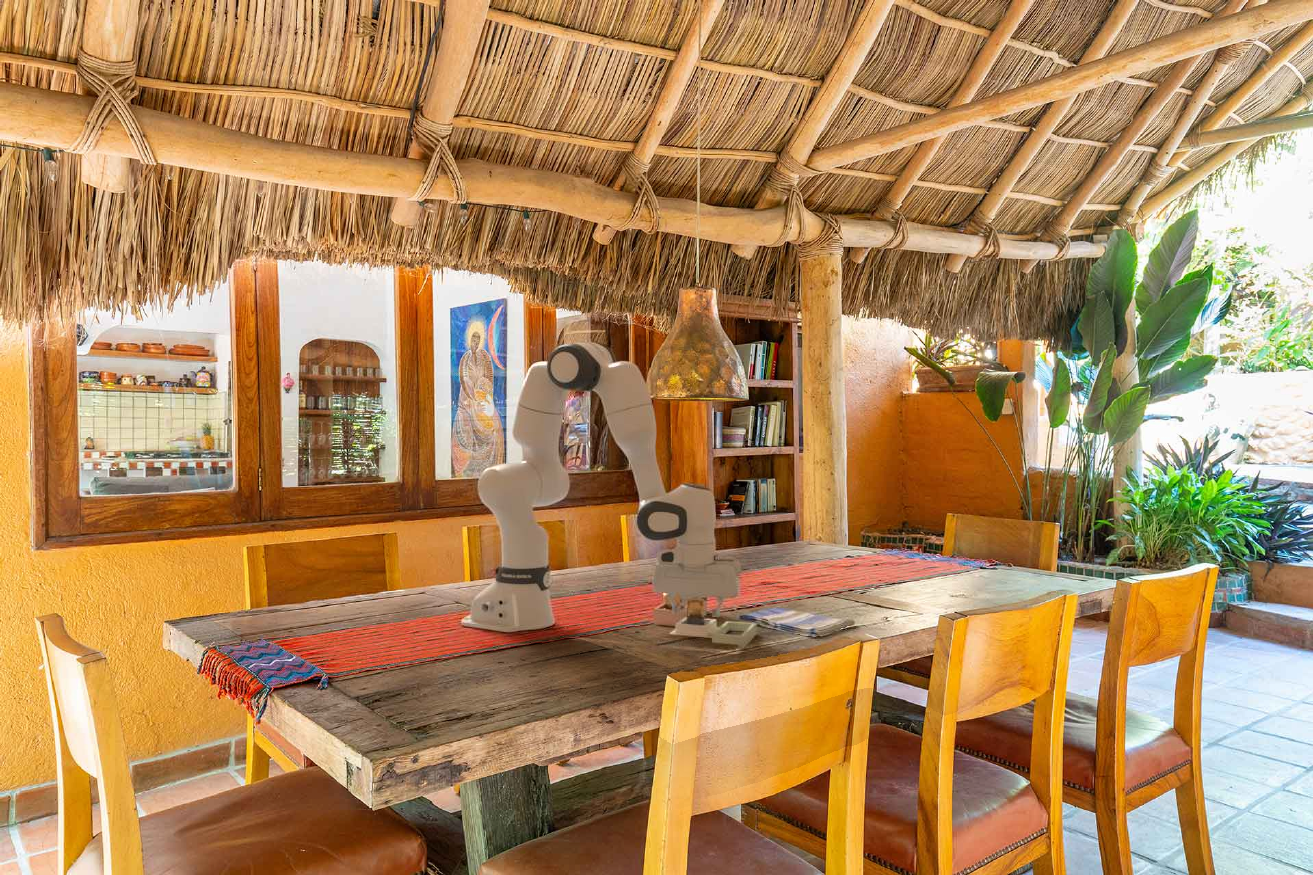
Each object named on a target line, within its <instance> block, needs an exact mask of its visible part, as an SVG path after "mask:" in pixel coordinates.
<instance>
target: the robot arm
mask: <svg viewBox="0 0 1313 875" xmlns="http://www.w3.org/2000/svg"><path fill="white" fill-rule="evenodd" d="M591 391H593V392H595V394H596V393H597V395H598V397H599V398H600V400H601V403H602V407H603V411H604V415H605V419H606V422H607V425H608V428H609V431H610V432H611V435H612V437H613V439H614V442H615V444H616V445H617V446H618V447H619V448H620V450H621V451H622V452H623V453H624V455H625V457H627V460H628V462H629V464H630V467H631V469H632V470H631V471H632V474H633V477H634V482H635V484H636V488H637V493H638V500H639V502H638V506H637V514H636V525H637V526H636V527H637V528H638V529H637V530H638V531H639V532H640V534H641V535H642V536H643V537H645V538H646V539H648V540H650V541H654V542H661V541H666V540H672V539H675V538H676V546H673V547H670V548H668V549H664V550H662V551H660V552H658V553H657V555H656V561H657V562H658V563H657V564H655V566H654V569H653V574H652V590H653V591H654V593H655V594H662V595H663V594H668V600H669V602H670V604H671V606H672V613H673V614H679V613H680V611H681V610H680V608H681V605H677V603H676V601H675V599H674V598H675V597H676V595H691V596H706V597H707V598H709V597H710V598H716V602H717V603H718V604H717V606H716V607H712V609H711V613H712V614H711V616H712V618H713V617H715V618H719V617H720V616H721V608H722V606H723V605H724V603H725V601H726V599H735V598H737V597H738V596H740V594H741V580H740V575H741V573H742V572H741V570H742V568H741V567H742V566H741V565H742V564H741V561H740V560H738V558H737V559H736V558H735V557H734V556H730V555H729V556H724V555H716V550H717V548H716V547H717V546H716V537H715V526H716V523H717V522H716V518H717V516H716V515H717V514H716V501H715V495H714V493H713V491H711V489H710V488H709V487H707V486H704V485H701V484H695V483H681V484H680V485H679V486H677V487H676V488H674V490H673V489H672V490H671V491H669V492H667V491H666V489H665V485H664V482H663V479H662V474H661V472H660V467H659V464H658V461H657V460H658V458H657V455H656V454H657V453H656V452H657V451H656V441H657V422H656V414H655V409H654V406H653V402H652V399H651V394H650V392H649V389H648V386H647V383H646V381H645V379H644V377H643V375H642V372H641V370H640V369H639V367H638V366H637V364H635V363H633V362H631V361H627V360H620V361H617V358H616V355H615V353H614V352H613V351H612V350H611V349H610V348H609V347H608V346H606V345H604V344H602V343H600V342H593V341H578V342H574V343H573V342H569V343H568V342H567V343H564V344H562V345H559V346H558V347H556V348H555V349H554V350H553V351H552V352H551V354H550V355H549V357H548V359H547V360H546V361H545V360H544V361H543V360H542V361H539V362H536V363H535V362H534V363H533V364H532V365H531V366H530V368H529V369H528V371H527V374H526V376H525V378H524V381H523V384H522V387H521V391H520V395H519V397H518V403H517V408H516V411H515V417H514V422H513V427H512V436H513V439H514V440H515V442H516V443H517V444H518V445H520V446H521V450H522V459H521V462H511V463H510V462H508V463H506V462H505V463H500V464H497V465H494V466H491V467H488V468H486V469H484V471H483V472H481V474H480V476H479V478H478V481H477V493H478V496H479V497H478V498H479V499H480V500H481V503H483V504H484V506H485V507H487V509H489V510H490V511H491V513H492V514H493V516H494V518H495V520H496V523H497V525H498V528H499V532H500V538H501V565H500V566H498V567H496V568H495V569H492V570H491V571H492V574H491V575H495V579H494V581H493V582H492V583H491V584H489V585H488V586H486V588H484V589H483V590H481V591H480V593H478V594H477V595H476V596H475V597H474V598H473V600H472V603H471V608H470V614H469V615H466V616H465V617H463V618H462V619H461V622H460V625H461V626H464V627H470V628H477V629H483V630H489V631H496V632H503V633H514V632H518V631H529V630H538V629H539V630H540V629H545V628H548V627H551V626H553V625H554V624H555V623H556V621H555V616H554V613H553V607H552V603H551V596H550V587H551V565H550V564H549V535H548V532H547V530H546V529H545V528H544V527H543V526H541V525H540V524H539V523H538V522H537V520H536V517H535V514H534V508H536V507H547V506H550V505H553V504H556V503H558V502H561V501H563V500H564V499H565V498H566V497H567V496H568V495H569V494H568V493H569V491H570V486H571V485H570V484H571V481H570V480H571V479H570V476H569V473H568V471H567V469H566V468H564V466H563V465H562V463H561V459H560V458H561V457H560V452H559V451H560V449H559V442H560V436H561V430H562V424H563V421H564V420H563V419H564V415H565V409H566V404H567V401H568V397H569V395H570V394H571V392H591Z"/></svg>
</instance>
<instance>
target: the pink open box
mask: <svg viewBox="0 0 1313 875" xmlns="http://www.w3.org/2000/svg"><path fill="white" fill-rule="evenodd" d="M680 610H681V611H680V613H679V614H673V613H672V610H667V609H664V602H663V603H661V604H660V605H658V606H657V607H655V608H653V625H656V626H668V627H675V624H676V623H678V622H679V621H680V620H682V619H683V618H685V617H687V605H681V608H680Z"/></svg>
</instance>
